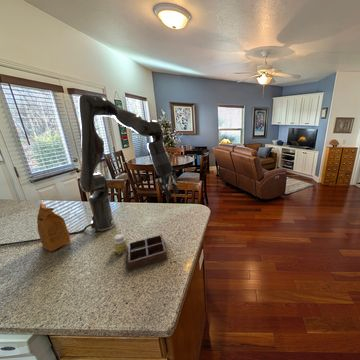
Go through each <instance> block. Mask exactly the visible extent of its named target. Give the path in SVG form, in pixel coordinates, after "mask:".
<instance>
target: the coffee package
mask: <svg viewBox="0 0 360 360" xmlns="http://www.w3.org/2000/svg"><path fill="white" fill-rule="evenodd" d="M54 210H55V208H54V207H47V204H44V203H40V205H39V209H38V213H37V217H36V221H37V222H36V223H37V227H36V228H37V233H38V236H39V239H40V240H39V241H40V243H41V245H42V247H43V248H44V249H45V250H46V251H50V252H55V250H57V249H59V248H61V247H63V246H66V245H68V244H69V243H71V242H72V241H71V237H70V235H69V233H70V231H69V229H68V227H67V224H66V220H65V219H64V217H62V216H61V215H59V214H57V213H55V212H53V211H54Z"/></svg>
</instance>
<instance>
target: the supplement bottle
mask: <svg viewBox="0 0 360 360" xmlns="http://www.w3.org/2000/svg"><path fill="white" fill-rule="evenodd" d="M113 243H114V247H115V251H116V253H117V255H120V254H124V253H127V252H128V243H127V240H126V238H125V235H124V234H123V233H121V234H117V235H115V236H114V242H113Z"/></svg>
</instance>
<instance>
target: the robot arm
mask: <svg viewBox="0 0 360 360" xmlns="http://www.w3.org/2000/svg"><path fill="white" fill-rule="evenodd" d="M78 112H79V114H78V115H79V120H80V121H79V122H80V134H81V140H80V141H81V142H80V145H81V147H80V149H81V168H80V175H79V186H80V188H81V190H82V191H83V192H84V193H86V194H91V193H93V194H92V195H90V196H89V197H88V204H89V208H90V212H91V214H92V215H91V221H90V224H88V225H85V227H84V228H83V229H81V230H77V231H71V232H69V236H70V235H77V234H80V233H83V232H85V231H86V230H87V228H89V227H91V229H94V232H104V231H108V230H110V229H111V230H112V228H114V227H115V219H114V217H113V212H112V208H111V204H110V203H111V202H110V199H109V197H110V192H109V185H108V181H107V178H106V176H105V175H104V174H102V173H100V172H97V173H95V171H96V169H97V167H98V165H99V163H100V162H101V161H102V159H103V157H104V154H105V142H104V139H103V137H102V136H101V134H100V133H99V131H98V130H97V128H96V125H95V117H109V118H114V119H115V120H116V122H117V123H119V124H120V125H122V126H124V127H126V128H128V129H131V130H133V131H134V132H135V133H136V134H138V135H139V136H142V137H150V138H151V141H149V142H148V143H147V144H146V145H147V150H148V152H149V155H150V158H151V162H152V165H153V168H154V170H155V174H156V175H157V176H160V177H159V178H157V183H158V185H159V188H160V191H161V192H164V193H165V197H166V199H168V200H170V199H172V198H173V194H172V192H171V190H170V187H171V189H172V191H173V193H174V194H178V193H180V192H179V188H178V186H177V185H178V183H179V182H178V179H177V175H176V174H175V171H174V167H173V165H172V162H171V159H170V157H169V153H168V152H167V149H166V147H165V144H164V131H163V126H162V125H161V123H160V122H159V121H157V120H156V119H144V118H142V116H140V115H139V114H136V113H135V112H132V111H129V110H127V109H125V108H122V107H120V106H118V105H117V104H115V103H113V102H112V101H111V100H109V99H107V98H106V97H103V96H102V95H97V94H96V95H95V94H88V93H83V94H81V95H80V96H79V98H78ZM173 171H174V172H173ZM38 241H41V240H40V238H34V239H27V240H20V241H13V242H6V243H0V247H5V246H12V245H17V244H18V245H19V244H25V243H33V242H38Z"/></svg>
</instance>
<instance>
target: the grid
mask: <svg viewBox="0 0 360 360" xmlns="http://www.w3.org/2000/svg"><path fill="white" fill-rule="evenodd" d="M127 248H128V250H127V267H128V271H132V270H136V269H139V268H142V267H145V266H148V265H152V264H155V263H158V262H162V261H165V260H167V259H168V255H167V249H166V245H165V241H164V238H163V234H158V235H154V236H150V237H146V238H143V239H139V240H135V241H129V242H128V243H127Z"/></svg>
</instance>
